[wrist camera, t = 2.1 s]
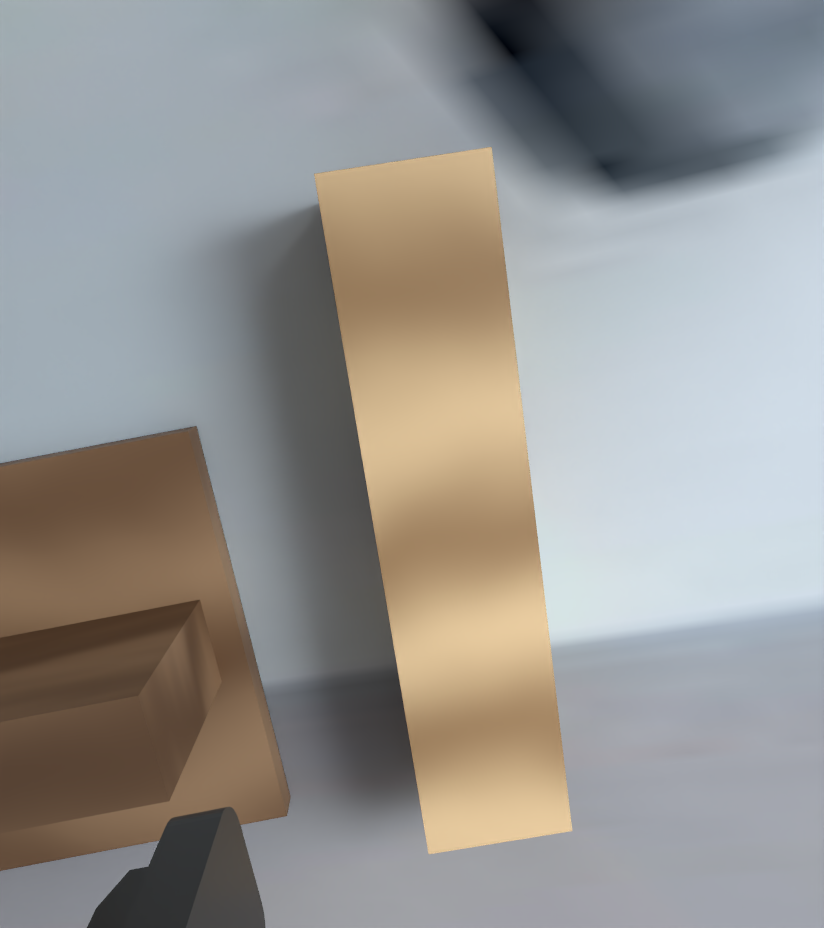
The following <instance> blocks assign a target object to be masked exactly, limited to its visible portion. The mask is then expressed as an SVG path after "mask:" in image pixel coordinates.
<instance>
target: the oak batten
mask: <svg viewBox="0 0 824 928" xmlns="http://www.w3.org/2000/svg"><path fill="white" fill-rule="evenodd" d="M314 176H315V182H316V188H317V194H318V200H319V206H320V212H321V218H322V224H323V230H324V235H325V241H326V247H327V253H328V259H329V265H330V271H331V277H332V283H333V289H334V295H335V301H336V307H337V313H338V318H339V324H340V330H341V336H342V342H343V348H344V354H345V360H346V366H347V372H348V378H349V384H350V390H351V396H352V402H353V407H354V413H355V419H356V425H357V431H358V437H359V443H360V449H361V455H362V461H363V467H364V473H365V479H366V485H367V491H368V496H369V502H370V508H371V514H372V520H373V526H374V532H375V538H376V544H377V550H378V556H379V562H380V568H381V574H382V579H383V585H384V591H385V597H386V603H387V609H388V615H389V621H390V627H391V633H392V639H393V645H394V651H395V657H396V663H397V668H398V674H399V680H400V686H401V692H402V698H403V704H404V710H405V716H406V722H407V728H408V734H409V740H410V746H411V751H412V757H413V763H414V769H415V775H416V781H417V787H418V793H419V799H420V805H421V811H422V817H423V823H424V829H425V835H426V840H427V846H428V852H429V854H433V853H440V852H446V851H452V850H458V849H464V848H470V847H476V846H483V845H489V844H495V843H501V842H507V841H513V840H520V839H526V838H532V837H538V836H544V835H550V834H557V833H563V832H569V831H572V825H571V817H570V808H569V800H568V791H567V783H566V774H565V766H564V757H563V749H562V740H561V732H560V723H559V715H558V706H557V698H556V689H555V681H554V672H553V664H552V655H551V647H550V638H549V630H548V622H547V613H546V605H545V596H544V588H543V579H542V571H541V562H540V554H539V545H538V537H537V528H536V520H535V511H534V503H533V494H532V486H531V477H530V469H529V460H528V452H527V443H526V435H525V427H524V418H523V410H522V401H521V393H520V384H519V376H518V367H517V359H516V350H515V342H514V333H513V325H512V316H511V308H510V299H509V291H508V282H507V274H506V265H505V257H504V248H503V240H502V231H501V223H500V215H499V206H498V198H497V189H496V181H495V172H494V164H493V155H492V147H488V148H482V149H475V150H468V151H462V152H455V153H448V154H442V155H435V156H429V157H422V158H415V159H409V160H402V161H396V162H389V163H382V164H376V165H369V166H362V167H356V168H349V169H343V170H336V171H329V172H323V173H316V174H314Z"/></svg>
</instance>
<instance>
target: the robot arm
mask: <svg viewBox="0 0 824 928" xmlns="http://www.w3.org/2000/svg"><path fill="white" fill-rule="evenodd" d="M87 928H265V919H264V912H263V907H262V902H261V899H260V895H259V891H258V888H257V884H256V880H255V877H254V873H253V870H252V866H251V862H250V859H249V855H248V851H247V848H246V844H245V840H244V837H243V833H242V829H241V826H240V822H239V819H238V816H237V814H236V812H235V810H234V809H233V808H232V807H230V806H229V807H224V808H219V809H214V810H209V811H204V812H199V813H194V814H188V815H183V816H178V817H173V818H171V819H170V820H169V821H168V823H167V825H166V827H165V829H164V831H163V834H162V836H161V838H160V841H159V843H158V845H157V848H156V850H155V852H154V855H153V857H152V860H151V862H150V864H149V867H144V868H139V869H134V870H130V871H129V872H128V873H127V874H126V875H125V876H124V877H123V879H122V880H121V881H120V882H119V883H118V884H117V885H116V886H115V888H114V889H113V890H112V891H111V892H110V893H109V894H108V896H107V897H106V898H105V899H104V900H103V901H102V902H101V903H100V905H99V906H98V907H97V908H96V910H95V912H94V914H93V916H92V918H91V921H90V923H89V925H88V927H87Z"/></svg>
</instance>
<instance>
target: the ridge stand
mask: <svg viewBox="0 0 824 928" xmlns="http://www.w3.org/2000/svg"><path fill="white" fill-rule="evenodd" d="M289 802H290V793H289V789H288V785H287V781H286V777H285V773H284V769H283V766H282V762H281V758H280V754H279V750H278V746H277V742H276V738H275V734H274V730H273V726H272V722H271V718H270V714H269V710H268V706H267V702H266V699H265V695H264V691H263V687H262V683H261V679H260V675H259V671H258V667H257V663H256V659H255V655H254V651H253V647H252V643H251V639H250V635H249V631H248V628H247V624H246V620H245V616H244V612H243V608H242V604H241V600H240V596H239V592H238V588H237V584H236V580H235V576H234V572H233V568H232V564H231V561H230V557H229V553H228V549H227V545H226V541H225V537H224V533H223V529H222V525H221V521H220V517H219V513H218V509H217V505H216V501H215V497H214V494H213V490H212V486H211V482H210V478H209V474H208V470H207V466H206V462H205V458H204V454H203V450H202V446H201V442H200V438H199V434H198V430H197V427H196V426H195V427H189V428H184V429H179V430H174V431H168V432H163V433H158V434H153V435H147V436H142V437H137V438H132V439H126V440H121V441H116V442H111V443H105V444H100V445H95V446H90V447H84V448H79V449H74V450H69V451H63V452H58V453H53V454H48V455H42V456H37V457H32V458H27V459H21V460H16V461H11V462H6V463H0V871H2V870H7V869H12V868H18V867H23V866H28V865H33V864H38V863H44V862H49V861H54V860H59V859H65V858H70V857H75V856H80V855H85V854H91V853H96V852H101V851H106V850H112V849H117V848H122V847H127V846H132V845H138V844H143V843H148V842H153V841H159V840H160V838H161V836H162V834H163V831H164V829H165V827H166V825H167V823H168V821H169V820H170V819H171V818H173V817H178V816H183V815H188V814H194V813H199V812H204V811H209V810H214V809H219V808H224V807H229V806H230V807H232V808H233V809H234V810H235V812H236V814H237V816H238V819H239V822H240V825H242V824H247V823H253V822H258V821H263V820H268V819H274V818H279V817H284V816H287V813H288V808H289Z"/></svg>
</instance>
